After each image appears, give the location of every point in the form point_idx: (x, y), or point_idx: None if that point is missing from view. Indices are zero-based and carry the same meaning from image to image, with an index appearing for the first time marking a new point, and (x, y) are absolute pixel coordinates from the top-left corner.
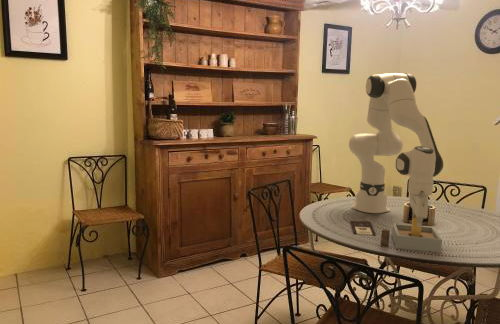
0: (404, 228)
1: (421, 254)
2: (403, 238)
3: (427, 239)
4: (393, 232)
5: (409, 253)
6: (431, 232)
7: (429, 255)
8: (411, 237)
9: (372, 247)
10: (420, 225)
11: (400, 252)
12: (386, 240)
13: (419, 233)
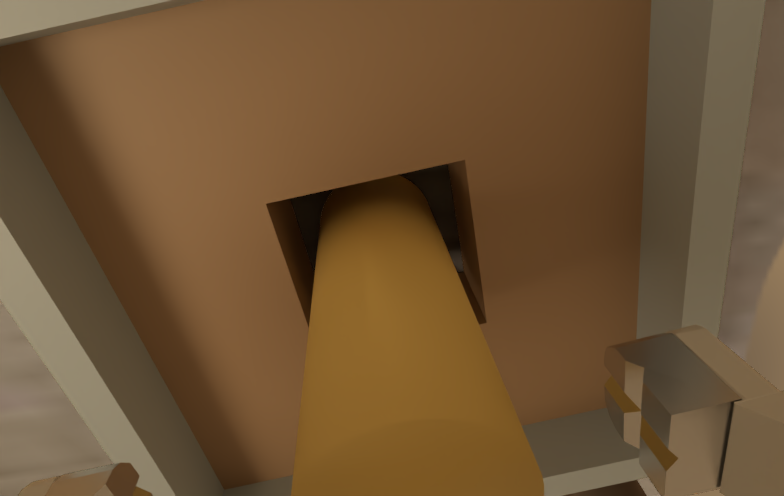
0: (177, 427)
1: None
2: None
3: (737, 105)
4: None
5: (737, 238)
6: (2, 46)
7: (763, 29)
8: (711, 325)
9: (655, 488)
10: (714, 355)
11: (725, 310)
12: None
13: (435, 248)
